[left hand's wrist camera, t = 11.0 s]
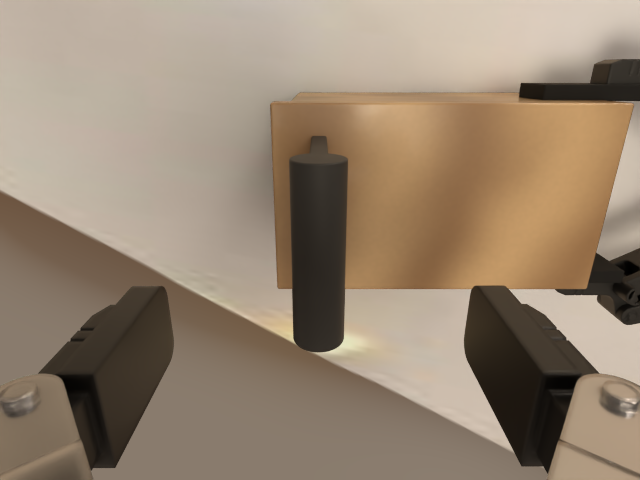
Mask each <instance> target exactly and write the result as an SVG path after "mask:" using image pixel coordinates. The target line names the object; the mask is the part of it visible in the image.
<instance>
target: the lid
mask: <svg viewBox="0 0 640 480" xmlns="http://www.w3.org/2000/svg"><path fill="white" fill-rule="evenodd" d="M633 107H634V104H633V103H626V102H437V101H274V102H272V103H271V104H270V111H271V136H272V161H273V186H274V211H275V236H276V261H277V287H278V288H279V289H292V297H293V336H294V341H295V343H296V344H297V345H298V346H299V347H300V348H302V349H304V350H307V351H311V352H326V351H330V350H333V349H335V348H337V347H338V346H340V345H341V343H342V342H343V339H344V307H345V289H472V288H473V287H474V286H476V285H503V286H506V287H507V288H508V289H586V288H587V285H588V281H589V277H590V273H591V270H592V266H593V262H594V258H595V254H596V250H597V246H598V242H599V239H600V235H601V231H602V227H603V223H604V219H605V215H606V211H607V208H608V204H609V200H610V196H611V192H612V188H613V184H614V180H615V177H616V173H617V169H618V165H619V161H620V157H621V153H622V149H623V146H624V142H625V138H626V134H627V130H628V126H629V122H630V118H631V115H632V111H633Z"/></svg>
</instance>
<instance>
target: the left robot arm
mask: <svg viewBox="0 0 640 480" xmlns="http://www.w3.org/2000/svg"><path fill="white" fill-rule="evenodd" d="M173 347H174V338H173V331H172V324H171V317H170V310H169V303H168V297H167V292H166V290H165V288H164V287H163V286H133V287H131V288H130V289H129V290H128V291H127V293H126V294H125V295H124V296H123V297H122V298H121V299H120V300H119V302H118V303H117V304H116V305H110V306H108V307H106V308H105V309H103V310H101V311H100V312H98V313H96V314H94V315H93V316H92V317H91V318H90V319H89V320H88V321H87V322H86V323H85V324H84V325H83V326H82V327H81V330H80V331H77V333H76V334H75V335H74V336H73V337H72V338H71V341H70V342H67V343H66V344H65V345H64V346H63V347H62V349H61V350H60V351H59V352H58V353H57V354H56V355H55V356H54V357H53V358H52V359H51V360H50V361H49V362H48V363H47V364H46V366H45V367H44V368H43V369H42V370H41V371H40V372H39V373H38V374H33V375H28V376H24V377H20V378H17V379H15V380H12V381H9V382H7V383H5V384H3V385H1V386H0V480H93V476H92V473H91V470H92V469H93V468H115V467H116V465H117V463H118V461H119V459H120V457H121V456H122V454H123V452H124V450H125V448H126V446H127V444H128V442H129V440H130V438H131V436H132V434H133V432H134V431H135V429H136V427H137V425H138V423H139V421H140V419H141V417H142V415H143V413H144V411H145V409H146V407H147V406H148V404H149V402H150V400H151V398H152V396H153V394H154V392H155V390H156V388H157V386H158V384H159V382H160V380H161V379H162V377H163V375H164V373H165V371H166V369H167V367H168V365H169V363H170V361H171V358H172V354H173ZM464 348H465V354H466V358H467V361H468V363H469V365H470V367H471V369H472V371H473V373H474V375H475V377H476V378H477V380H478V382H479V384H480V386H481V388H482V390H483V392H484V394H485V396H486V398H487V400H488V402H489V404H490V406H491V408H492V410H493V412H494V414H495V415H496V417H497V419H498V421H499V423H500V425H501V427H502V429H503V431H504V433H505V435H506V437H507V439H508V441H509V443H510V445H511V447H512V449H513V451H514V452H515V454H516V456H517V458H518V460H519V462H520V464H521V466H544V468H545V470H546V471H547V473H548V476H547V480H640V386H639V385H637V384H635V383H633V382H631V381H628V380H625V379H623V378H620V377H616V376H612V375H607V374H599V372H598V371H597V370H596V369H595V368H594V367H593V366H592V365H591V364H590V363H589V362H588V361H587V360H586V359H585V357H584V356H583V355H582V354H581V353H580V352H579V351H578V350H577V349H576V348H575V347H574V346H573V345H572V343H571V342H570V341H567V340H566V337H565V336H564V335H563V334H562V333H561V332H560V331H559V330H557V329H556V326H555V325H554V324H553V323H552V322H551V321H550V320H549V319H548V318H547V317H546V316H545V315H544V314H543V313H541V312H539V311H537V310H536V309H534V308H532V307H531V306H529V305H527V304H521V303H520V302H519V301H518V299H517V298H516V297H515V296H514V295H513V294H512V293H511V291H510V290H509V289H508V288H507V287H506V286H503V285H476V286H474V287H473V288H472V290H471V294H470V301H469V308H468V314H467V321H466V328H465V335H464Z"/></svg>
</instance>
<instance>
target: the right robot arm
mask: <svg viewBox="0 0 640 480" xmlns="http://www.w3.org/2000/svg"><path fill="white" fill-rule="evenodd" d="M519 97H521V98H529V99H537V100H607V101H640V59H617V60H604V61H601V62H598V63H596V64H594V68H593V72H592V77H591V82H590V83H521V86H520V93H519ZM555 290H556V291H557V292H559V293H561V294H564V295H598V296H597V301H598V303H599V304H601V305H602V306H603V307H604V308H605V309H606V310H608V311H609V312H610V313H611V314H613V315H614V316H615V317H616V318H617V319H619V320H620V321H621V322H622V323H624V324H626V325H632V324H637V323H640V248H639V249H637V250H634V251H632V252H630V253H627V254H625V255H623V256H620V257H618V258H616V259H613V260H611V261H608V260H606V259H605V258H603V257H602V256H600V255H599V254H597V253H596V254H595V258H594V262H593V266H592V270H591V273H590V277H589V281H588V285H587V288H586V289H555Z"/></svg>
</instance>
